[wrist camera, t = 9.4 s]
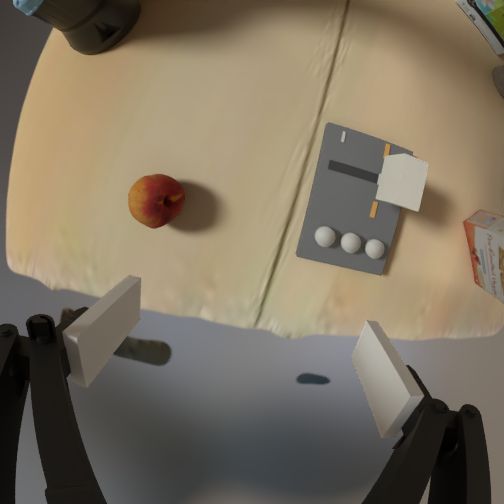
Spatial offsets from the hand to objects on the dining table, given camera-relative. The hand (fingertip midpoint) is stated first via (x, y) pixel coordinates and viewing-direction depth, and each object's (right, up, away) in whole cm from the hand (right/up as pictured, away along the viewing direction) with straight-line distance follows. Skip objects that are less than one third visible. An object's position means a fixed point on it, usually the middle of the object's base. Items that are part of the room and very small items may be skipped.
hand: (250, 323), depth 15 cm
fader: (+19, +14, +22) cm, 32 cm away
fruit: (-13, +12, +27) cm, 32 cm away
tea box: (+51, +54, +12) cm, 76 cm away
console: (+16, +12, +25) cm, 32 cm away
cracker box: (+43, +5, +26) cm, 51 cm away
